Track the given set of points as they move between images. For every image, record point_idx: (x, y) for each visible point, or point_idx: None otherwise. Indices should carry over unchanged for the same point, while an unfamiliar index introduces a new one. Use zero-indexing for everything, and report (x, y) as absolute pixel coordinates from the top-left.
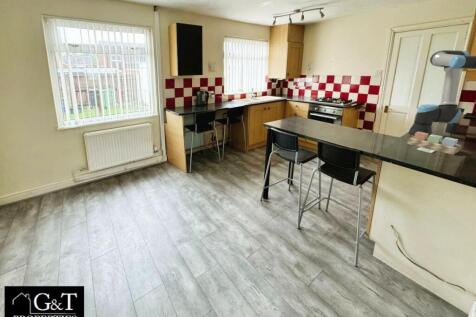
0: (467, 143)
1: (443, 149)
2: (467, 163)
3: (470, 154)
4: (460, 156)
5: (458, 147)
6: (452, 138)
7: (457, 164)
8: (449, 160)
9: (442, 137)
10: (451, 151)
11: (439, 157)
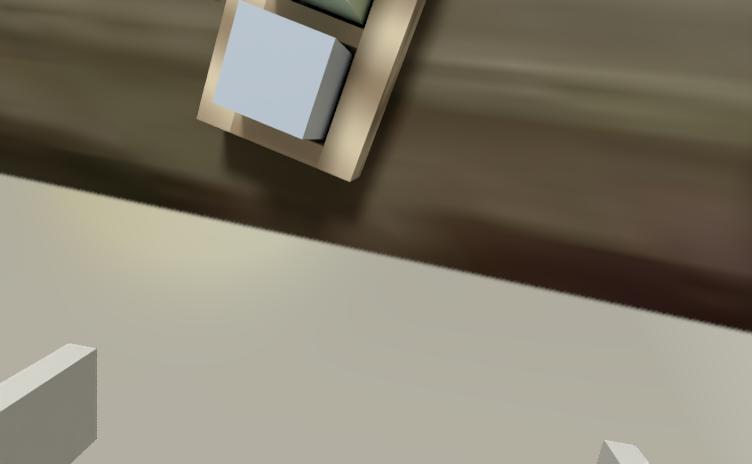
0: (712, 297)
1: None
2: (79, 172)
3: (320, 236)
4: (214, 160)
5: (277, 151)
6: (306, 90)
7: (13, 111)
8: (61, 75)
9: (349, 4)
10: None
11: (82, 16)
